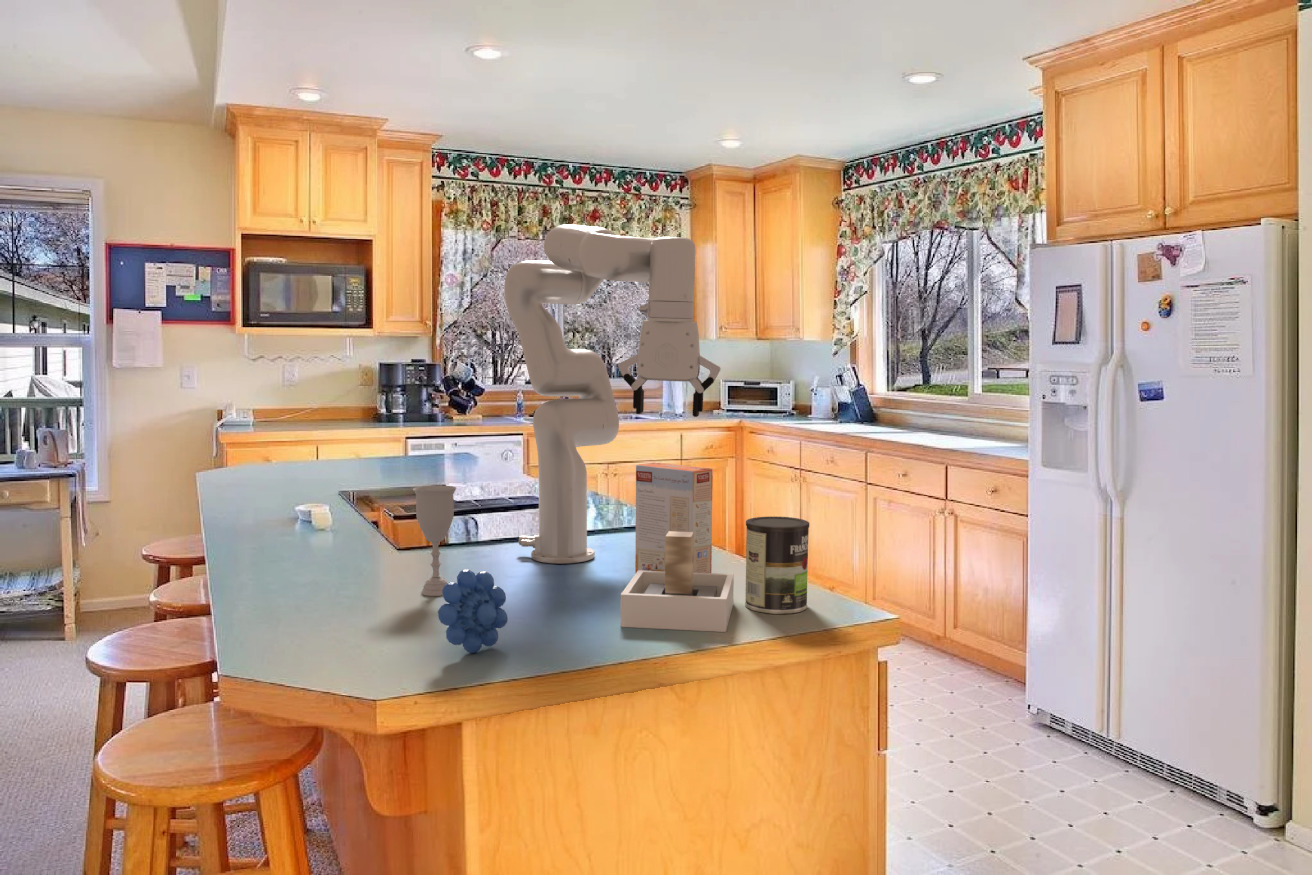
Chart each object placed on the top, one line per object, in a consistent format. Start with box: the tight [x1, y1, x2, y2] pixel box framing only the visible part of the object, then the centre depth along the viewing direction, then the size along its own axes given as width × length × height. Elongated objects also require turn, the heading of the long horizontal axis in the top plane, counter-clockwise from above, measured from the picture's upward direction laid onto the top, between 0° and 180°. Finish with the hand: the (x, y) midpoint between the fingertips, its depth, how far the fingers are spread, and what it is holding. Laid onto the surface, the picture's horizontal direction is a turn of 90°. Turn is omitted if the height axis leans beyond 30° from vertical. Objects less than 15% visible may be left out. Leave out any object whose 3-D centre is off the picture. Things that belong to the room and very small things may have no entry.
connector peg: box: [665, 531, 694, 596], centre depth 155 cm, size 4×4×12 cm
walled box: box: [620, 570, 735, 633], centre depth 155 cm, size 16×16×5 cm
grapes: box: [437, 569, 508, 654], centre depth 135 cm, size 12×7×12 cm, turn 139°
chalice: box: [412, 485, 457, 597], centre depth 168 cm, size 7×7×18 cm
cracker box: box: [634, 462, 714, 575], centre depth 178 cm, size 14×6×21 cm, turn 47°
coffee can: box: [744, 516, 810, 615], centre depth 160 cm, size 10×10×14 cm
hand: (667, 414), depth 166 cm, fingers open, 9 cm apart
